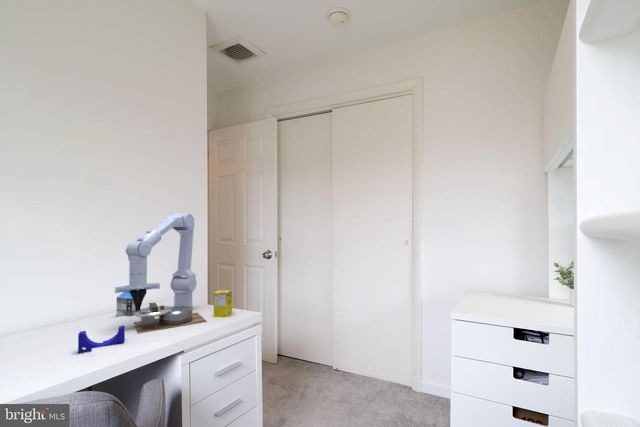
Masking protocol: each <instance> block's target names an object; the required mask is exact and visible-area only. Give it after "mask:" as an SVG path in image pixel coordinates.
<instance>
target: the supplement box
mask: <svg viewBox="0 0 640 427" xmlns="http://www.w3.org/2000/svg"><path fill="white" fill-rule="evenodd" d="M232 314H233V290H232V289H219V290H217V291H215V292H213V317H214V318H228V317H229V316H231V315H232Z"/></svg>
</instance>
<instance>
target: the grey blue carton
mask: <svg viewBox="0 0 640 427" xmlns="http://www.w3.org/2000/svg"><path fill="white" fill-rule="evenodd" d="M132 290H133V289H132ZM135 311H136V310H135V304H134V301H133V298H132V296H131V294H130V292H121V294H119V295H118V296H116V317H118V318H120V317H133V316H135Z"/></svg>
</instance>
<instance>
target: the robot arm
mask: <svg viewBox="0 0 640 427" xmlns="http://www.w3.org/2000/svg"><path fill="white" fill-rule="evenodd" d="M195 219H196V218H194V216H193V214H192V213H190V212H185V213H184V212H183V213H178V212H177V213H176V212H175V213H174V212H171V213H169V214H168V215H167V216H166V217H165V219H164V221H162V222H161V223H160V224H159V225H158V226H157V227H156V228H154V229H147V230H146V231H145V233H144V234H143V235H142V236H140V237H138V238H137V239H136V240H135V241H131V242H130V243H128V244H127V246H126V248H125V254H126V255H127V261H129V267H128V268H129V276H128V278H129V280H128V282H129V283H128V285H123V286H121V285H120V286H116V287H114V293H115V294H119V293H123V292H130V294H131V296H132V298H133V301H134V304H135V310H136V311H140V309H142V308H141V307H142V304H143V301H144V298H145V297H146V295H147V292H148V291H147V290H157V289H158V290H160V289H161V284H160V282H156V283H155V282H154V283H153V282H152V283H151V282H150V283H149V282H148V280H147V279H148V257H149V255H150V254H151V251H152V249H153V247H155V246H156V245H157V244H158V243H159V242H161V241H162V236H163V235H165V234H166V233H168V232H169V231H170V230H174V231H175V232H178V234H179V235H180V236H179V237H180V239H179V250H178V260H177V261H178V263H177V270H176V271H174V273H173V274H172V278H171V280H170V288H171V290H172V291H173V293H174V296H173V306H190V307H192V308H193V292H194V291H195V289H196V287H197V285H198V284H197V279H196V278H197V277H196V276H197V274H196V273H195V272H193V271H192V257H193V256H192V255H193V243H194V242H193V240H194V231H195V230H194V229H195ZM132 289H133V290H132Z"/></svg>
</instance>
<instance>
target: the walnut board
mask: <svg viewBox="0 0 640 427" xmlns="http://www.w3.org/2000/svg"><path fill="white" fill-rule="evenodd" d="M204 323H208V320H206V319H205V318H204V317H203V316H202V315H200V313H199V312H192V321H191V322H189V323H186V324H182V325H176V326H163V325H160V324H159V318H154V327H148V328H142V327H141V320H139V321H134V322H133V324H134V328H135V330H136V333H137V335H140V334H144V333H149V332H156V331H162V330H163V331H164V330H167V329H175V328H180V327H186V326H191V325H196V324H198V325H199V324H204Z"/></svg>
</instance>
